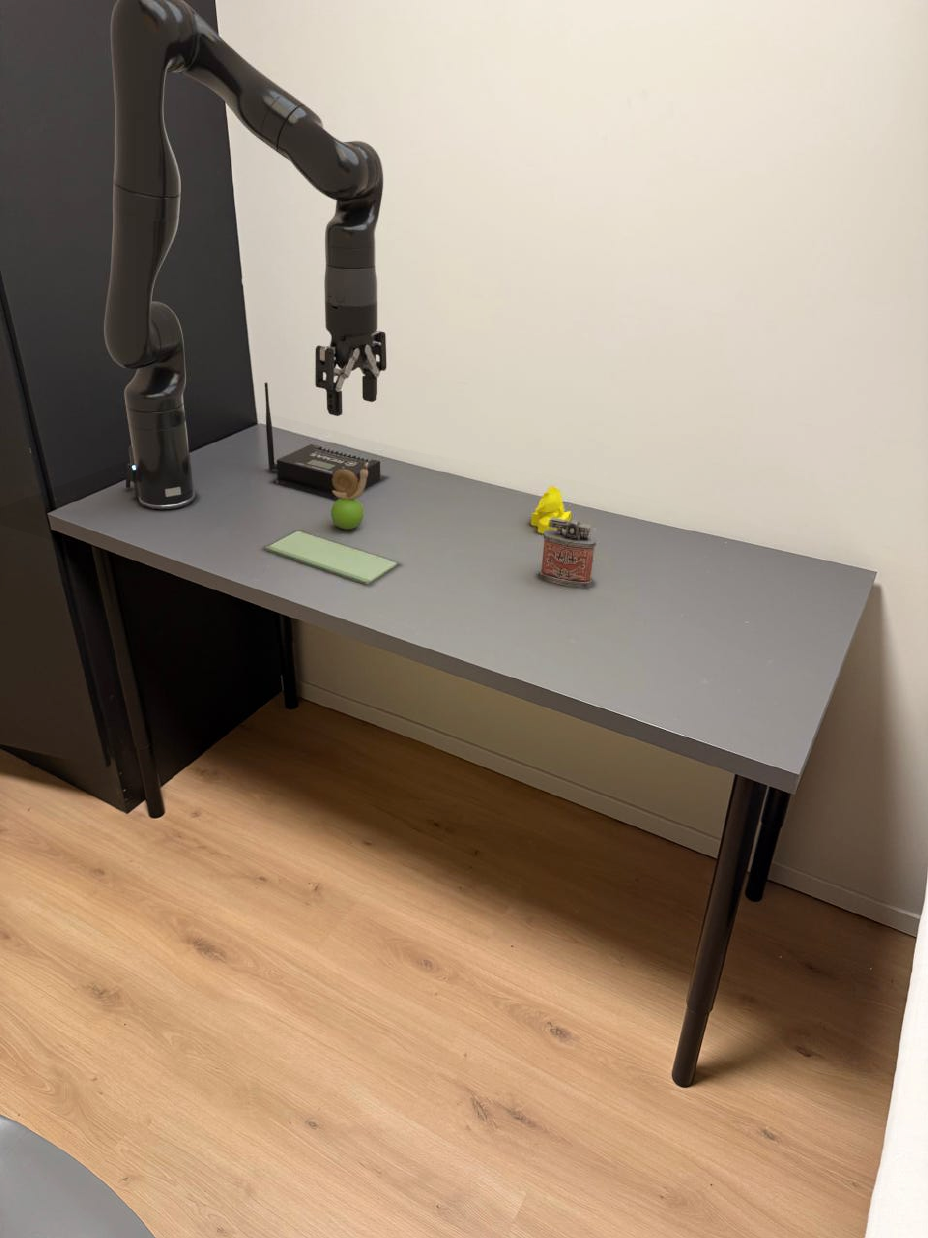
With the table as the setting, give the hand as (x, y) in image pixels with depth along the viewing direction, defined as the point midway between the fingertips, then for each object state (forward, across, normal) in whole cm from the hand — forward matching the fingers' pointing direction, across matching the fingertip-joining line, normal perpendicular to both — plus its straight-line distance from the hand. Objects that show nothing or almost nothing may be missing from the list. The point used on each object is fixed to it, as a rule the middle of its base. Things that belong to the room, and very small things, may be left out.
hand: (352, 407), depth 140 cm
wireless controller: (+22, -17, -21) cm, 35 cm away
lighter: (+22, -8, +35) cm, 42 cm away
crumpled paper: (+22, -24, +24) cm, 41 cm away
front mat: (+22, +8, +1) cm, 24 cm away
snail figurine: (+22, -3, -3) cm, 23 cm away
